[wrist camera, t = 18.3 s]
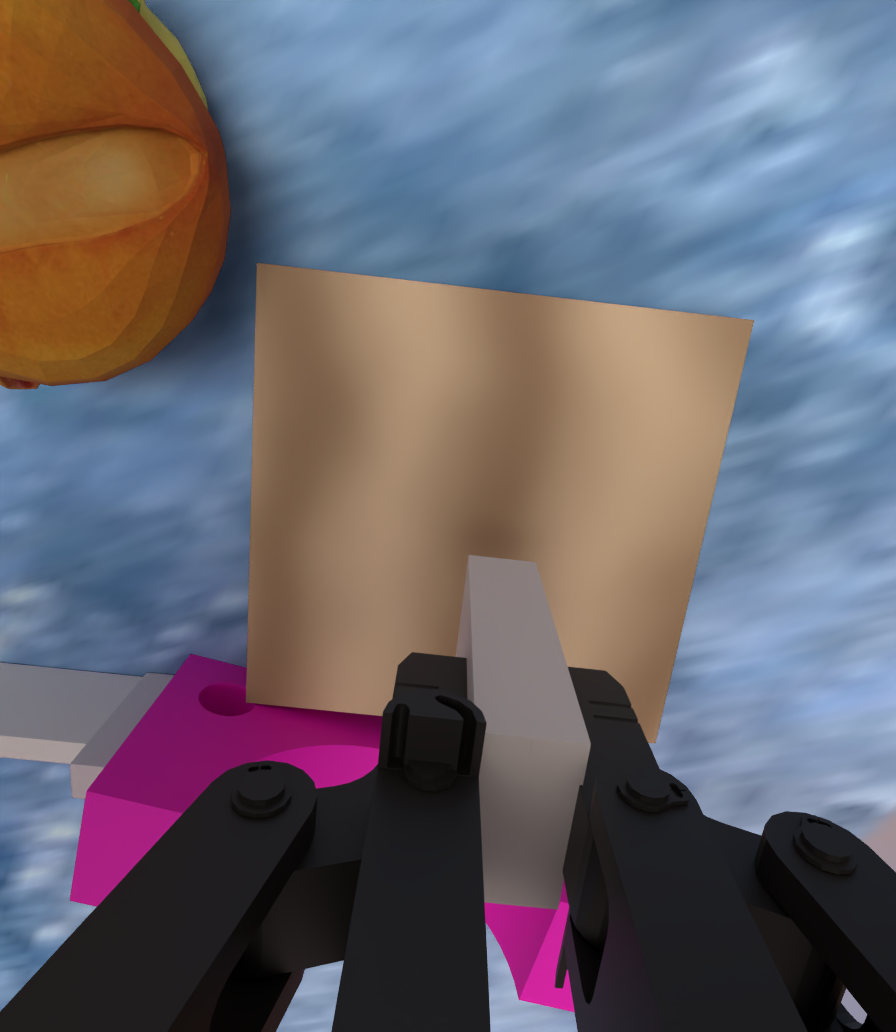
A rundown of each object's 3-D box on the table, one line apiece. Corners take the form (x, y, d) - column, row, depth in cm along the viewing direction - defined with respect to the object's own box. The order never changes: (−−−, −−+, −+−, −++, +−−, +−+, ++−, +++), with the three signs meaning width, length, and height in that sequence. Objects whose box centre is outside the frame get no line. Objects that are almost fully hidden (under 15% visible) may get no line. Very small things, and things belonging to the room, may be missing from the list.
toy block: (165, 788, 27) (59, 966, 19) (192, 651, 25) (86, 791, 18) (530, 874, 28) (557, 1073, 20) (580, 749, 26) (630, 917, 19)
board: (261, 671, 25) (245, 702, 23) (275, 266, 21) (256, 262, 19) (640, 710, 25) (655, 743, 23) (726, 319, 21) (754, 320, 19)
